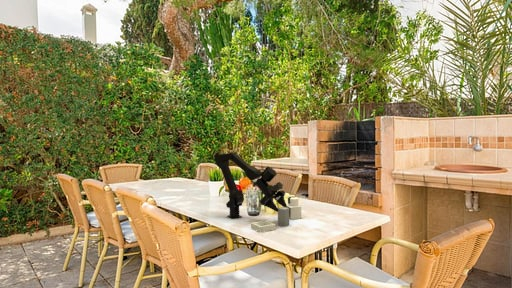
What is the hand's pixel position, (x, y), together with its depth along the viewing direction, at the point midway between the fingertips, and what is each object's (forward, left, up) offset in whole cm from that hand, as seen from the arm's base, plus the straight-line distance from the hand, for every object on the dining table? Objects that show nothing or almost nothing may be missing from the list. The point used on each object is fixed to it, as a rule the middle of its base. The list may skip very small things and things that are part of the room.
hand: (282, 209), depth 187 cm
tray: (+1, -13, -8) cm, 15 cm away
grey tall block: (+1, 0, -8) cm, 9 cm away
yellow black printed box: (-9, +14, -9) cm, 19 cm away
